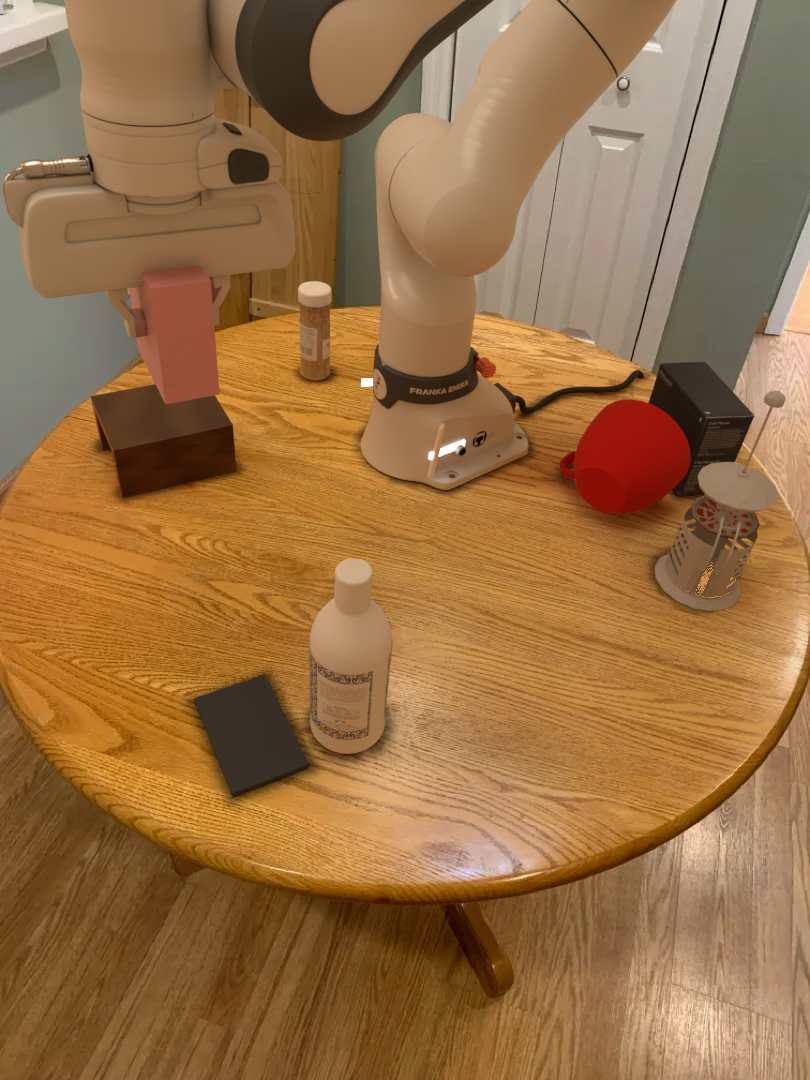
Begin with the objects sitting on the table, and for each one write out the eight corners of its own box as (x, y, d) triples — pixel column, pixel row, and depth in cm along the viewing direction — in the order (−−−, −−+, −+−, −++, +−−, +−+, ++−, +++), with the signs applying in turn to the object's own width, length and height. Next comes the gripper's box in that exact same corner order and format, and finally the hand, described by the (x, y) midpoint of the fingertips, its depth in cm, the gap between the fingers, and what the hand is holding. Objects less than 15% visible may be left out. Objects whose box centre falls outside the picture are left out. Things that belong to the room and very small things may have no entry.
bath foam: (345, 682, 82) (351, 528, 69) (399, 723, 79) (417, 569, 66) (294, 726, 78) (289, 570, 65) (349, 770, 75) (356, 617, 61)
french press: (743, 564, 99) (830, 379, 82) (738, 632, 91) (834, 442, 74) (659, 541, 101) (727, 356, 84) (647, 606, 93) (720, 415, 76)
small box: (725, 493, 109) (757, 415, 101) (677, 497, 108) (706, 419, 100) (679, 434, 119) (706, 359, 111) (634, 438, 117) (658, 361, 109)
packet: (189, 342, 76) (178, 233, 69) (219, 394, 70) (210, 280, 63) (138, 351, 74) (121, 239, 67) (165, 404, 68) (150, 288, 61)
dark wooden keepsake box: (207, 420, 113) (202, 374, 108) (236, 471, 105) (233, 424, 101) (100, 442, 108) (90, 396, 103) (122, 498, 100) (113, 450, 95)
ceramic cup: (553, 533, 110) (593, 489, 115) (666, 535, 97) (706, 485, 101) (512, 450, 105) (556, 407, 110) (625, 440, 92) (669, 392, 96)
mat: (265, 677, 82) (265, 673, 81) (308, 767, 75) (308, 764, 74) (194, 701, 79) (193, 697, 79) (232, 797, 72) (232, 793, 72)
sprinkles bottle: (336, 377, 123) (337, 290, 114) (308, 384, 121) (308, 297, 112) (320, 362, 126) (321, 277, 117) (293, 369, 124) (291, 283, 115)
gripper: (2, 179, 54) (46, 369, 63) (303, 155, 62) (303, 328, 71) (-11, 146, 58) (32, 329, 67) (273, 129, 66) (276, 295, 75)
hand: (173, 328), depth 69 cm, fingers closed on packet, 4 cm apart
